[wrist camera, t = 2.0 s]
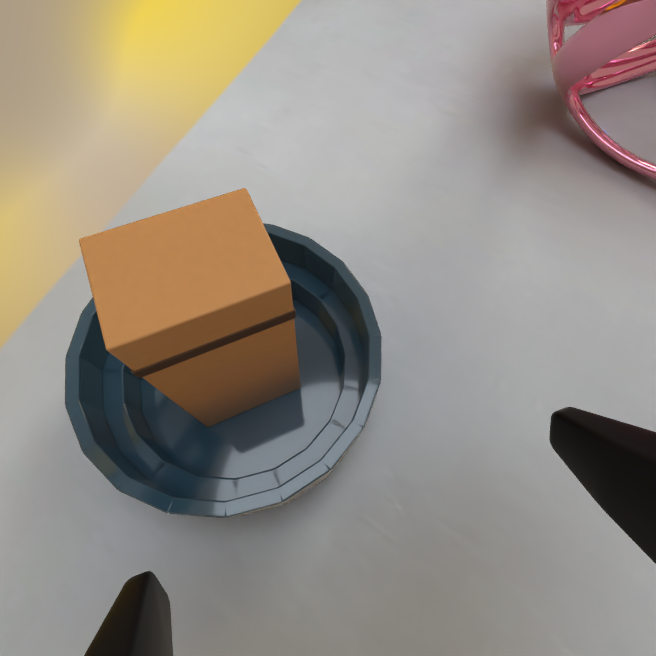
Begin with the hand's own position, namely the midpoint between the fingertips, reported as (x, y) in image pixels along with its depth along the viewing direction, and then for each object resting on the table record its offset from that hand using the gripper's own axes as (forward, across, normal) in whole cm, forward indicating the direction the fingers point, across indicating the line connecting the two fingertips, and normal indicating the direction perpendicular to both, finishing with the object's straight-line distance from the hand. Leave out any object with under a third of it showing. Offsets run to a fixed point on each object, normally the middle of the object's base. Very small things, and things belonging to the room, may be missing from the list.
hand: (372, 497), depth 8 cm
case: (+14, +3, +4) cm, 15 cm away
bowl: (+15, +3, +5) cm, 16 cm away
